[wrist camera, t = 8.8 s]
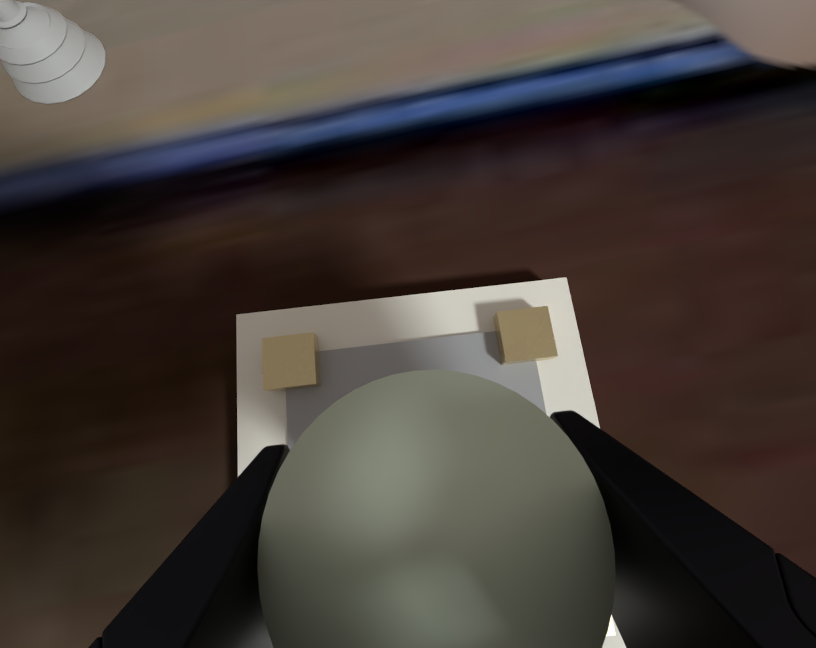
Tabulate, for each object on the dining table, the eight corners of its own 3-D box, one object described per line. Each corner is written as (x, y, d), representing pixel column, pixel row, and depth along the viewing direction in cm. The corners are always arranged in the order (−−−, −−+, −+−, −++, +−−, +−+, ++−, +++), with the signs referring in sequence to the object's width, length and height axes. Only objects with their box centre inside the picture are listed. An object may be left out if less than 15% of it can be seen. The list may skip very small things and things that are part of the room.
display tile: (629, 640, 15) (670, 680, 13) (256, 686, 15) (226, 736, 13) (554, 289, 19) (575, 268, 16) (250, 323, 19) (225, 307, 16)
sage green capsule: (381, 579, 14) (322, 842, 5) (333, 435, 15) (217, 441, 6) (517, 520, 14) (685, 667, 5) (459, 384, 15) (519, 323, 7)
